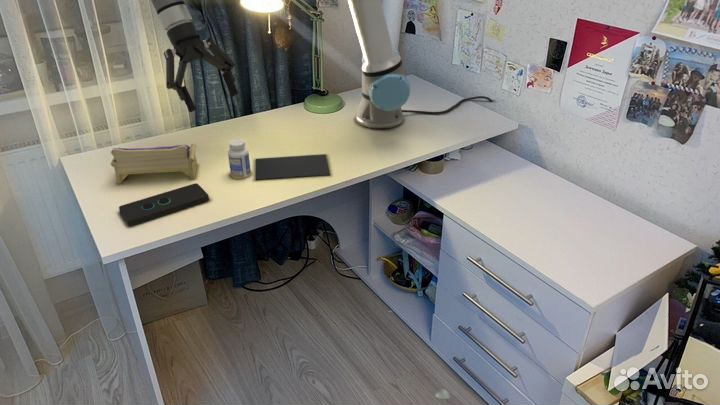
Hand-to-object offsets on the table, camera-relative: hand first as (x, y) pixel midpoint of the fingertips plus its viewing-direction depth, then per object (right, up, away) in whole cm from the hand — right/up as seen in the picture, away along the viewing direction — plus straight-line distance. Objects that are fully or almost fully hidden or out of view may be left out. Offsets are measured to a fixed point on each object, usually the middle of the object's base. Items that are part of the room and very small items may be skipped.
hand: (214, 103), depth 151 cm
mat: (+20, -17, +6) cm, 27 cm away
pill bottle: (+6, -19, +3) cm, 20 cm away
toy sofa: (-16, -19, +3) cm, 25 cm away
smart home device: (-9, -28, -11) cm, 31 cm away
